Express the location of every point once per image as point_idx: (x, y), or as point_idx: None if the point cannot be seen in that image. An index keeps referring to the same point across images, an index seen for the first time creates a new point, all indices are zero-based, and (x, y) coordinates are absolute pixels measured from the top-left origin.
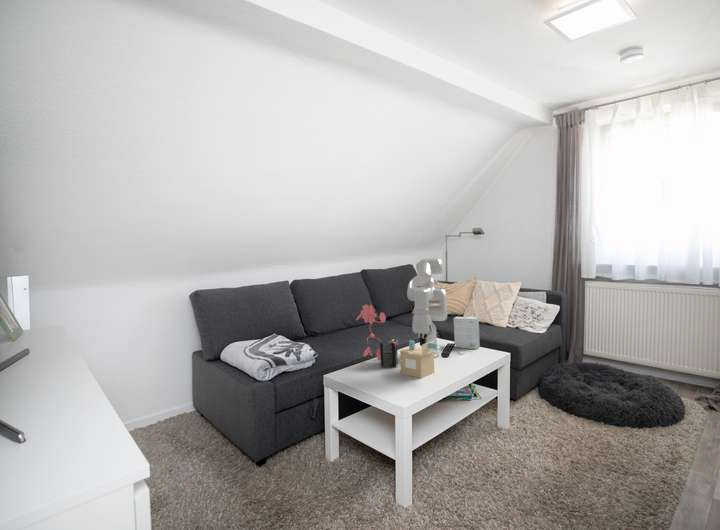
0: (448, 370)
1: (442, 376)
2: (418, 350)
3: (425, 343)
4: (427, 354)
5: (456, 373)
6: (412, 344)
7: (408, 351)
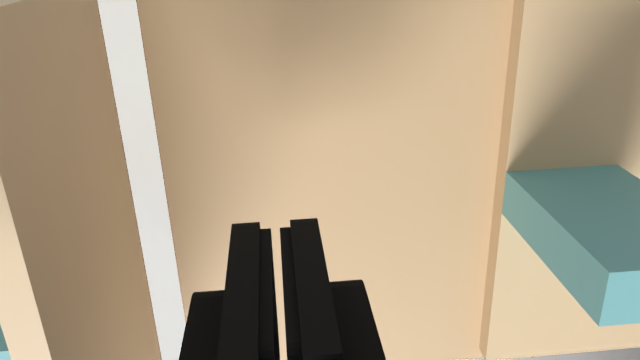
0: (158, 340)
1: None
2: (444, 256)
3: (3, 224)
4: (171, 199)
5: None
6: (593, 227)
7: (546, 15)
